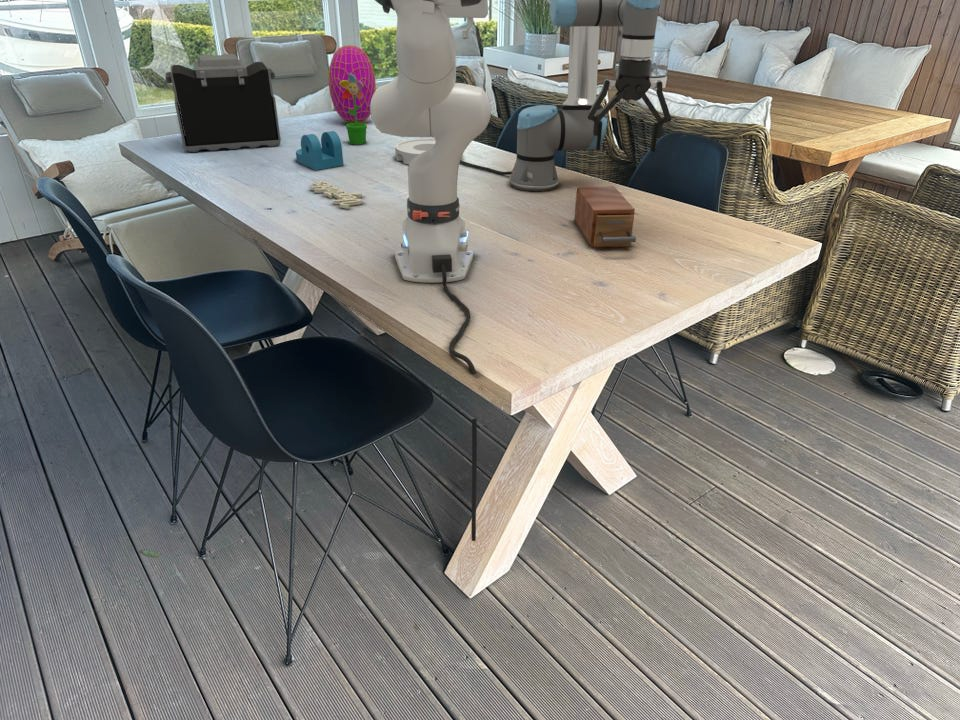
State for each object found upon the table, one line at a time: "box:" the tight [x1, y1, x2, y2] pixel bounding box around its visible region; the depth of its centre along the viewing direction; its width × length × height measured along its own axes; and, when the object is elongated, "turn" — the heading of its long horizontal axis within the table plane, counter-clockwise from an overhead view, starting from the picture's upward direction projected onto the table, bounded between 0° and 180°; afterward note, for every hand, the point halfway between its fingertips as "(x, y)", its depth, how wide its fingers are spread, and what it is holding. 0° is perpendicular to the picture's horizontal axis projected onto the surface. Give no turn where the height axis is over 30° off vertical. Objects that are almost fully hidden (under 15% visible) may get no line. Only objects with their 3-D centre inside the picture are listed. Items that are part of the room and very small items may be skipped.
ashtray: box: [394, 138, 436, 166], centre depth 243 cm, size 23×23×4 cm
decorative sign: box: [310, 180, 363, 210], centre depth 204 cm, size 26×1×10 cm
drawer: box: [594, 214, 637, 248], centre depth 172 cm, size 23×9×8 cm, turn 5°
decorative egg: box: [328, 44, 377, 124], centre depth 286 cm, size 19×19×30 cm
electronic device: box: [164, 53, 282, 153], centre depth 252 cm, size 37×22×30 cm, turn 111°
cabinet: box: [573, 185, 636, 248], centre depth 177 cm, size 20×10×10 cm, turn 5°
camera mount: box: [295, 130, 344, 171], centre depth 234 cm, size 18×10×10 cm, turn 39°
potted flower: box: [339, 73, 368, 145], centre depth 255 cm, size 9×8×25 cm
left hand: (445, 38), depth 166 cm, fingers open, 8 cm apart
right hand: (625, 149), depth 172 cm, fingers open, 13 cm apart
